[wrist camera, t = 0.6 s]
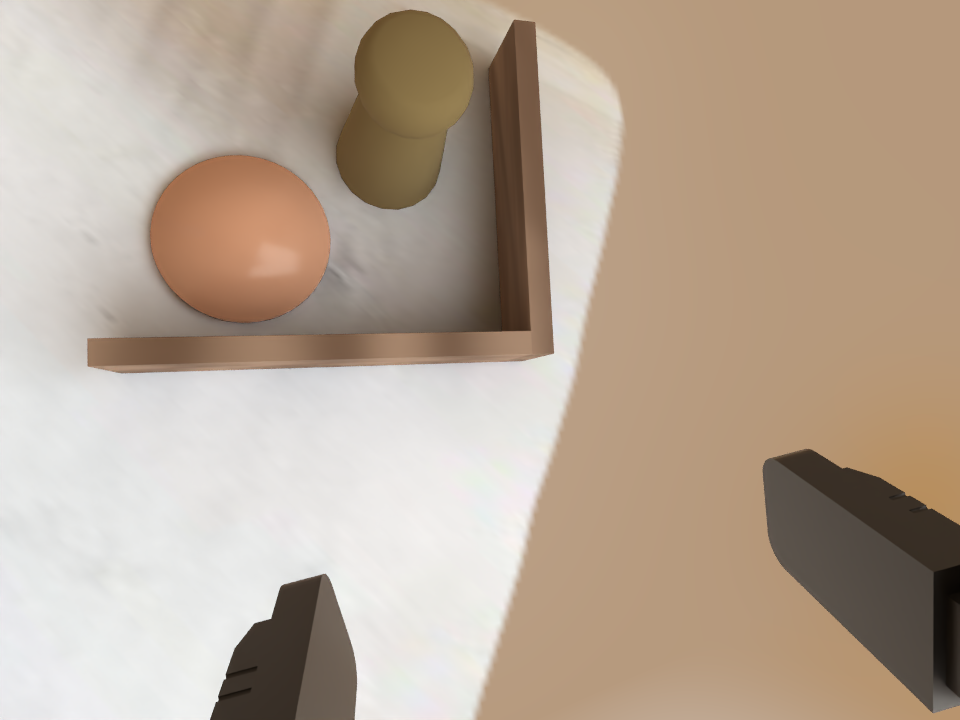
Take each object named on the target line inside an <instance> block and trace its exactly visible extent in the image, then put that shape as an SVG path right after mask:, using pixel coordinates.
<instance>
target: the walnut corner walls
mask: <svg viewBox="0 0 960 720" xmlns="http://www.w3.org/2000/svg"><path fill="white" fill-rule="evenodd" d="M489 89H490V108H491V128H492V147H493V167H494V186H495V206H496V225H497V245H498V264H499V284H500V303H501V323H502V331H500V332H441V333H383V334H325V335H267V336H209V337H150V338H92V339H88V366H89V367H94V368H98V369H103V370H108V371H113V372H118V373H145V372H177V371H210V370H243V369H276V368H308V367H341V366H374V365H407V364H439V363H472V362H505V361H525V360H529V359H533V358H537V357H541V356H545V355H550V354H554V346H553V328H552V311H551V293H550V275H549V258H548V240H547V223H546V205H545V187H544V170H543V152H542V135H541V117H540V100H539V82H538V64H537V47H536V29H535V22H529V21H521V20H514V21H513V23H512V25H511V27H510V28H509V30H508V32H507V34H506V36H505V38H504V40H503V42H502V44H501V46H500V48H499V50H498V52H497V54H496V56H495V57H494V59H493V61H492V63H491V65H490V67H489Z"/></svg>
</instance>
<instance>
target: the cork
mask: <svg viewBox="0 0 960 720" xmlns="http://www.w3.org/2000/svg"><path fill="white" fill-rule="evenodd" d="M473 83H474V80H473V63H472V60H471V57H470V54H469V51H468V48H467V46H466V45H465V43H464V42H463V41H462V39H461V38H460V36H459V35H458V33H457V32H456V31H455V29H453V28H452V27H451V26H450V25H449V24H447V23H446V22H445V21H444V20H443V19H441V18H439V17H437V16H434V15H432V14H430V13H428V12H423V11H416V10H406V11H400V12H394V13H390V14H388V15H386V16H385V17H383V18H381V19H379V20H377V21H376V22H375V23H374V24H373V25H372V26H371V28H370V29H369V30H368V31H367V32H366V34H365V35H364V36H363V38H362V39H361V42H360V45H359V47H358V50H357V53H356V56H355V85H356V88H357V91H358V93H359V94H358V96H357V98H356V101H355V103H354V105H353V107H352V109H351V112H350V114H349V116H348V118H347V120H346V123H345V125H344V127H343V129H342V132H341V134H340V137H339V140H338V143H337V146H336V160H337V165H338V168H339V171H340V174H341V177H342V179H343V181H344V182H345V183H346V185H347V186H348V187H349V189H350V190H351V191H352V193H354V194H355V195H356V196H358V197H359V198H360V199H362V200H363V201H364V202H366V203H368V204H371V205H374V206H376V207H379V208H382V209H402V208H406V207H410V206H413V205H415V204H416V203H418V202H419V201H421V200H422V199H424V198H425V197H427V195H428V194H429V193H430V191H431V190H432V189H433V187H434V186H435V184H436V181H437V178H438V175H439V172H440V167H441V162H442V156H443V151H444V145H445V140H446V134H447V129H448V128H449V127H451V126H453V125H454V124H455V123H456V122H457V121H458V119H459V118H460V117H461V115H462V114H463V113H464V111H465V110H466V108H467V106H468V104H469V101H470V98H471V94H472V91H473Z"/></svg>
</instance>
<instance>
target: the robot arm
mask: <svg viewBox="0 0 960 720" xmlns="http://www.w3.org/2000/svg"><path fill="white" fill-rule="evenodd" d="M763 481H764V491H765V503H766V515H767V526H768V536H769V540H770V543H771V546H772V549H773V551H774V554H775V555H776V557H777V559H778V561H779V562H780V564H781V565H782V566H783V567H784V569H785V570H787V572H789V574H791V575H792V576H793V577H794V578H795V579H796V580H797V581H798V582H799V583H800V584H801V585H802V586H803V587H804V588H805V589H806V590H807V591H808V592H809V593H810V594H811V595H812V596H813V597H814V598H815V599H816V600H817V601H818V602H819V603H820V604H821V605H822V606H823V607H824V608H825V609H827V611H828V612H830V613H831V614H832V615H833V616H834V617H835V618H836V619H837V620H838V621H839V622H840V623H841V624H842V625H843V626H844V627H845V628H846V629H847V630H848V631H849V632H850V633H851V634H852V635H853V636H854V637H855V638H856V639H857V640H858V641H859V642H860V643H861V644H863V646H864V647H866V648H867V649H868V650H869V651H870V652H871V653H872V654H873V655H874V656H875V657H876V658H877V659H878V660H879V661H880V662H881V663H882V664H883V665H884V666H885V667H886V668H887V669H888V670H889V671H890V672H891V673H892V674H893V675H894V676H895V677H896V678H897V679H898V680H900V682H901V683H902V684H904V685H905V686H906V687H907V688H908V689H909V690H910V691H911V692H912V693H913V694H914V695H915V696H916V697H917V698H918V699H919V700H920V701H921V702H922V703H923V704H924V705H925V706H926V707H927V708H928V709H929V710H930V711H931V712H932V713H935V712H939V711H942V710H946V709H949V708H952V707H956V706H959V705H960V525H958V524H957V523H955V522H953V521H952V520H950V519H948V518H946V517H945V516H943V515H942V514H940V513H938V512H937V511H935V510H933V509H929V510H928V509H927V507H926V505H924V504H923V503H921V502H920V501H918V500H916V499H915V498H913V497H911V496H906V495H905V492H903V491H901V490H900V489H898V488H896V487H894V486H892V485H891V484H889V483H888V482H886V481H884V480H883V479H881V478H879V477H876V476H873V475H869V474H866V473H863V472H860V471H857V470H853V469H850V468H843V469H842V468H840V467H839V466H837V465H836V464H834V463H832V462H831V461H829V460H828V459H826V458H824V457H823V456H821V455H819V454H818V453H816V452H814V451H813V450H810V449H804V450H800V451H797V452H793V453H789V454H785V455H782V456H778V457H774V458H770V459H768V460H766V461H765V463H764V465H763ZM356 691H357V672H356V663H355V657H354V652H353V648H352V645H351V642H350V639H349V636H348V632H347V629H346V626H345V623H344V620H343V617H342V614H341V611H340V608H339V605H338V602H337V599H336V596H335V593H334V590H333V587H332V584H331V582H330V579H329V578H328V576H327V575H326V574H322V575H318V576H315V577H311V578H307V579H303V580H299V581H295V582H292V583H288V584H284V585H282V586H281V588H280V590H279V593H278V597H277V600H276V604H275V607H274V611H273V614H272V618H271V619H269V620H265V621H262V622H258V623H255V624H254V625H253V626H252V627H251V629H250V630H249V631H248V632H247V634H246V635H245V636H244V637H243V639H242V640H241V641H240V643H239V644H238V645H237V646H236V648H235V649H234V652H233V655H232V658H231V661H230V664H229V666H228V669H227V672H226V679H225V680H224V681H223V684H222V687H221V690H220V692H219V695H218V698H219V701H218V702H216V704H215V707H214V710H213V713H212V716H211V718H210V720H354V717H355V704H356Z"/></svg>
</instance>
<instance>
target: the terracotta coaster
mask: <svg viewBox="0 0 960 720" xmlns="http://www.w3.org/2000/svg"><path fill="white" fill-rule="evenodd" d="M150 239H151V248H152V253H153V257H154V260H155V262H156V265H157V268H158V270H159V272H160V273H161V275H162V277H163V279H164V280H165V281H166V283H167V284H168V285H169V287H170V288H171V289H172V290H173V291H174V292H175V293H176V294H177V295H178V296H179V297H180V298H181V299H182V300H184V301H185V302H186V303H187V304H189V305H190V306H191V307H193V308H195V309H196V310H198V311H200V312H202V313H204V314H206V315H209V316H211V317H214V318H217V319H221V320H225V321H230V322H240V323H250V322H260V321H265V320H270V319H273V318H276V317H279V316H281V315H283V314H285V313H287V312H289V311H291V310H293V309H294V308H296V307H297V306H299V305H300V304H301V303H302V302H303V301H305V300H306V299H307V298H308V297H309V296H310V295H311V293H312V292H313V291H314V290H315V288H316V287H317V285H318V284H319V282H320V281H321V279H322V277H323V275H324V273H325V270H326V266H327V263H328V258H329V253H330V232H329V226H328V222H327V218H326V216H325V213H324V210H323V208H322V206H321V204H320V203H319V201H318V199H317V198H316V196H315V195H314V193H313V192H312V191H311V189H310V188H309V187H308V186H307V185H306V184H305V183H304V182H303V181H302V180H301V179H299V178H298V177H297V176H296V175H295V174H293V173H292V172H290V171H289V170H287V169H285V168H283V167H282V166H280V165H278V164H276V163H273V162H270V161H267V160H265V159H260V158H256V157H251V156H242V155H236V156H222V157H216V158H213V159H209V160H206V161H203V162H201V163H198V164H196V165H194V166H192V167H190V168H189V169H187V170H185V171H184V172H183V173H181V174H180V175H179V176H177V177H176V178H175V179H174V180H173V181H172V182H171V183H170V184H169V185H168V187H167V188H166V189H165V191H164V192H163V193H162V195H161V197H160V199H159V201H158V202H157V205H156V207H155V210H154V213H153V217H152V222H151V231H150Z"/></svg>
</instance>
